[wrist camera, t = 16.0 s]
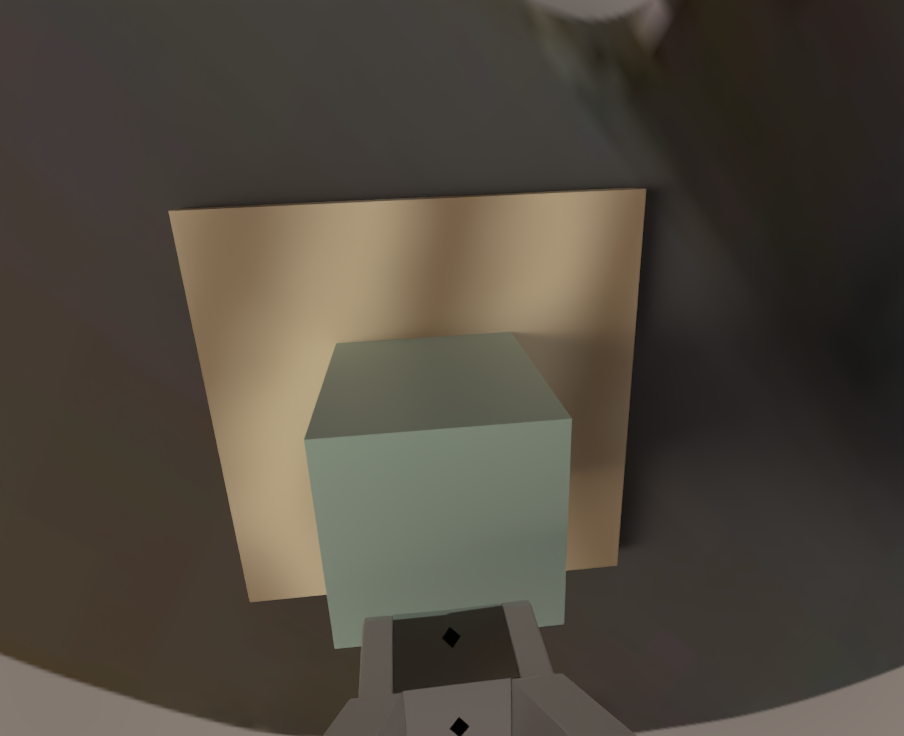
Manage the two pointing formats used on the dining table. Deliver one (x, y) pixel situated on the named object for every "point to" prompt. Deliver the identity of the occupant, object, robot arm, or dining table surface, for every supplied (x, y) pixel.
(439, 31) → the dining table surface
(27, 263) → the dining table surface
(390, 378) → the pale green cube
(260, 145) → the dining table surface
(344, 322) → the post board
